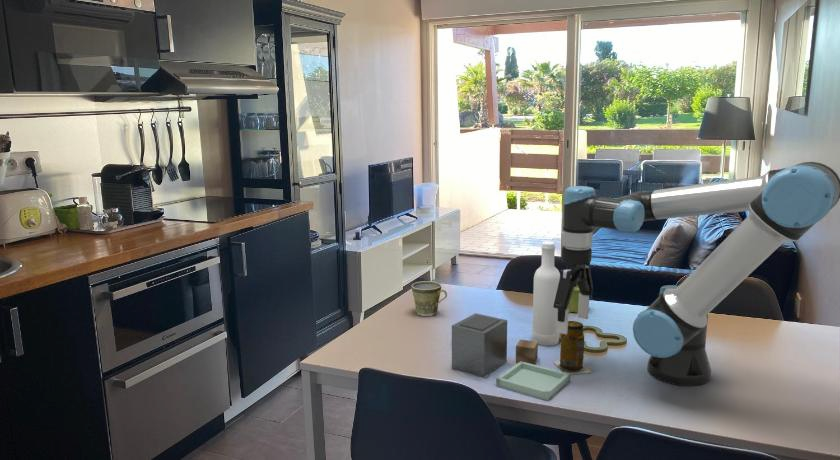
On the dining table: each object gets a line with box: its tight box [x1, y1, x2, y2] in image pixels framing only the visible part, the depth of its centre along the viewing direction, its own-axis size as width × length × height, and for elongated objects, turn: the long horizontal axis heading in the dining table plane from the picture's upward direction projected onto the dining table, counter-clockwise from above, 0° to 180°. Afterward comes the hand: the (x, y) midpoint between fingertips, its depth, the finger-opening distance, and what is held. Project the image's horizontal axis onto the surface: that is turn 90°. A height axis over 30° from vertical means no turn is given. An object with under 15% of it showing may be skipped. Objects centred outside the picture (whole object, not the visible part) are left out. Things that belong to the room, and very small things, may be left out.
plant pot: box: [567, 285, 582, 314], centre depth 212 cm, size 9×9×9 cm
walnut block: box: [515, 339, 539, 365], centre depth 171 cm, size 5×5×5 cm
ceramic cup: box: [411, 280, 448, 317], centre depth 209 cm, size 13×10×10 cm
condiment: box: [553, 320, 593, 375], centre depth 166 cm, size 7×8×12 cm
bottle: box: [531, 240, 561, 347], centre depth 183 cm, size 8×8×30 cm
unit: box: [451, 313, 508, 378], centre depth 168 cm, size 10×12×12 cm
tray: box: [495, 361, 571, 402], centre depth 158 cm, size 14×13×2 cm
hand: (572, 325), depth 165 cm, fingers open, 13 cm apart
